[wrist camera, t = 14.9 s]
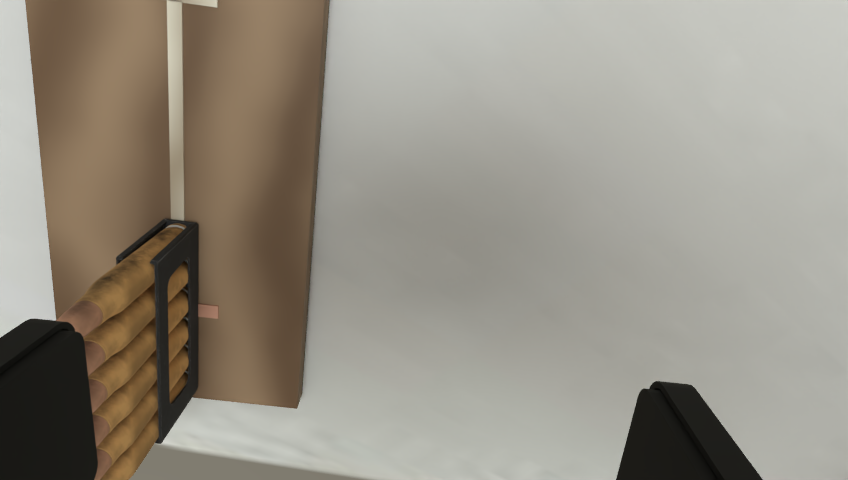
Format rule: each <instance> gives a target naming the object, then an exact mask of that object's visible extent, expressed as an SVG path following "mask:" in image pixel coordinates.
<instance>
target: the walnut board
mask: <svg viewBox="0 0 848 480" xmlns="http://www.w3.org/2000/svg"><path fill="white" fill-rule="evenodd" d="M25 2H26V12H27V22H28V33H29V43H30V53H31V63H32V74H33V84H34V94H35V105H36V115H37V125H38V136H39V146H40V156H41V167H42V177H43V187H44V197H45V208H46V218H47V228H48V239H49V249H50V259H51V270H52V280H53V290H54V301H55V311H56V320H57V319H58V318H59V317H60V316H61V315H62V314H63V313H64V312H65V311H67V310H68V309H69V308H70V307H71V306H73V304H74V303H75V302H76V301H77V300H79V299H80V298H81V297H82V296H83V295H84V294H85V293H86V291H87V290H88V288H89V287H90V286H91V285H92V284H93V283H94V282H95V281H96V280H98V279H99V278H100V277H101V276H103V275H104V274H105V273H107V272H108V271H109V270H111V269H112V268H113V267H115V266H116V257H117V256H118V255H119V254H120V253H122V252H123V251H124V250H125V249H127V248H128V247H129V246H130V245H132V244H133V243H134V242H135V241H137V240H138V239H139V238H140V237H142V236H143V235H144V234H145V233H147V232H148V231H149V230H150V229H152V228H153V227H154V226H155V225H157V224H158V223H159V222H161V221H162V220H163V219H164V218H165V219H173V220H181V221H189V222H196V223H197V224H198V389H197V391H196V392H195V394H194V395H193V397H194V398H203V399H213V400H222V401H231V402H241V403H250V404H259V405H269V406H278V407H287V408H297V407H298V404H299V401H300V398H301V395H302V385H303V370H304V356H305V342H306V328H307V313H308V299H309V285H310V271H311V256H312V242H313V228H314V214H315V199H316V185H317V171H318V157H319V142H320V128H321V114H322V99H323V85H324V71H325V57H326V42H327V28H328V14H329V0H25Z"/></svg>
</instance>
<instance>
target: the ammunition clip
mask: <svg viewBox="0 0 848 480" xmlns="http://www.w3.org/2000/svg"><path fill="white" fill-rule="evenodd" d="M56 321H62V322H69V323H70V324H72V325H73V327H74V328H75V332H79V333H81V334H82V336H83V338H84V343H85V352H86V361H87V370H88V379H89V388H90V396H91V405H92V414H93V423H94V432H95V441H96V449H97V458H98V468H97V473H96V476H95V479H94V480H129V479H130V478H131V477H132V476H133V474H134V473H135V472H136V470H137V469H138V467H139V466H140V464H141V463H142V461H143V460H144V458H145V457H146V455H147V454H148V452H149V451H150V449H151V447H152V446H153V445H154V443H159V444H160V443H162V442H163V440H164V439H165V437H166V436H167V434H168V433H169V431H170V430H171V428H172V427H173V425H174V424H175V422H176V421H177V419H178V418H179V416H180V415H181V413H182V412H183V410H184V409H185V407H186V406H187V404H188V403H189V401H190V400H191V398H192V397H193V395H194V394H195V392H196V391H197V389H198V224H197V223H196V222H189V221H181V220H173V219H165V218H164V219H163V220H162V221H161V222H159V223H158V224H157V225H155V226H154V227H153V228H152V229H150V230H149V231H148V232H147V233H145V234H144V235H143V236H142V237H140V238H139V239H138V240H137V241H135V242H134V243H133V244H132V245H130V246H129V247H128V248H127V249H125V250H124V251H123V252H122V253H120V254H119V255H118V256H117V257H116V266H115V267H113V268H112V269H111V270H109V271H108V272H107V273H105V274H104V275H103V276H101V277H100V278H99V279H98V280H96V281H95V282H94V283H93V284H92V285H91V286H90V287H89V288H88V290H87V291H86V293H85V294H84V295H83V296H82V297H81V298H80V299H79V300H77V301H76V302H75V303H74V304H73V306H71V307H70V308H69V309H68V310H67V311H65V312H64V313H63V314H62V315H61V316H60V317H59V318H58V319H57V320H56Z"/></svg>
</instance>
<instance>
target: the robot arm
mask: <svg viewBox="0 0 848 480" xmlns="http://www.w3.org/2000/svg"><path fill="white" fill-rule="evenodd" d="M97 468H98V458H97V449H96V441H95V432H94V423H93V414H92V405H91V396H90V388H89V379H88V370H87V361H86V352H85V343H84V338H83V336H82V334H81V333H79V332H75V328H74V327H73V325H72V324H70V323H69V322H62V321H52V320H42V319H29V320H27V321H25V322H23V323H22V324H20V325H19V326H17V327H16V328H14V329H13V330H11V331H10V332H8V333H7V334H5V335H4V336H2V337H1V338H0V480H94V479H95V476H96V473H97ZM616 480H763V479H762V478H761V477H760V475H759V474H758V473H757V471H756V470H755V469H754V467H753V466H752V465H751V463H750V462H749V461H748V459H747V458H746V456H745V455H744V454H743V452H742V451H741V450H740V448H739V447H738V446H737V444H736V443H735V442H734V440H733V439H732V438H731V436H730V435H729V434H728V432H727V431H726V429H725V428H724V427H723V425H722V424H721V423H720V421H719V420H718V419H717V417H716V416H715V415H714V413H713V412H712V411H711V409H710V408H709V407H708V405H707V404H706V403H705V401H704V400H703V398H702V397H701V396H700V394H699V393H698V392H697V390H696V389H695V388H694V387H693V386H692V385H688V384H679V383H669V382H660V381H656V382H654V383H653V384H652V385H651V386H650V389H642V390H641V392H640V393H639V396H638V399H637V403H636V407H635V410H634V414H633V418H632V422H631V426H630V429H629V433H628V437H627V441H626V445H625V448H624V452H623V456H622V460H621V464H620V467H619V471H618V475H617V479H616Z"/></svg>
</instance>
